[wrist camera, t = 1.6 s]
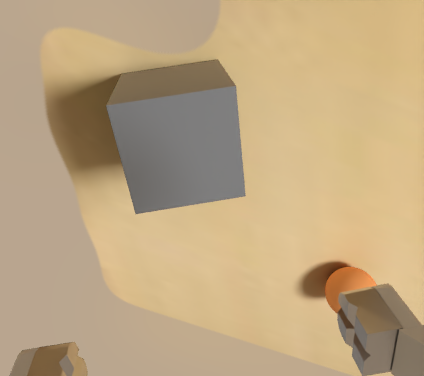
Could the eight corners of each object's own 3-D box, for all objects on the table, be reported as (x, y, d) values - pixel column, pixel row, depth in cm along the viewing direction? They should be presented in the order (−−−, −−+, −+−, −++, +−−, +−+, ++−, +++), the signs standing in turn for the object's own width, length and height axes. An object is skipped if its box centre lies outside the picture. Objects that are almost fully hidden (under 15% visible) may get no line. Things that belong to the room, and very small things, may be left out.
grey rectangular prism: (121, 73, 26) (105, 105, 19) (217, 59, 26) (235, 85, 20) (142, 161, 30) (135, 214, 23) (227, 147, 30) (245, 196, 23)
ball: (318, 261, 37) (338, 297, 33) (365, 253, 37) (392, 288, 33) (317, 295, 40) (335, 334, 35) (361, 288, 40) (385, 325, 35)
